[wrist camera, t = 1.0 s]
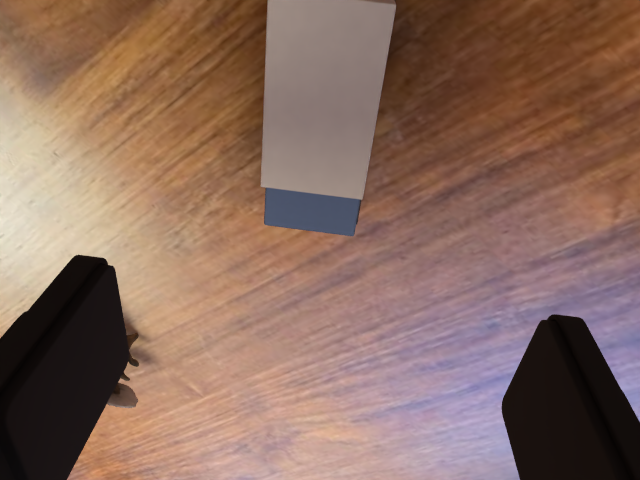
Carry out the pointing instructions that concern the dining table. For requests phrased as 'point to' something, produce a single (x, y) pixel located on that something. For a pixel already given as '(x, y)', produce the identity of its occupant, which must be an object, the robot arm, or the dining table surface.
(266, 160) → the black base with blocks
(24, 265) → the dining table surface
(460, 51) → the dining table surface
